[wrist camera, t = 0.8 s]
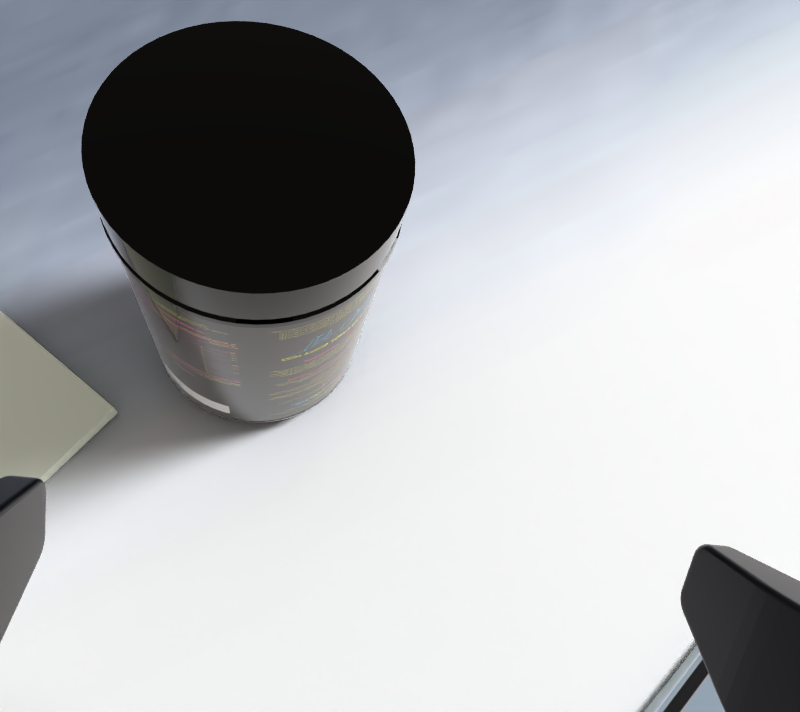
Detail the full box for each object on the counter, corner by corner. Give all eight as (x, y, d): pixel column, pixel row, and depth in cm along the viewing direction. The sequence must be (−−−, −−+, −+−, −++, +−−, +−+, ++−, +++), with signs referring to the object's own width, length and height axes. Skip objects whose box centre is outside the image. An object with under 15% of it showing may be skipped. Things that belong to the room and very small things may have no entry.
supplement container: (388, 306, 25) (466, 114, 15) (297, 466, 22) (321, 357, 12) (226, 219, 25) (202, -28, 15) (116, 369, 22) (2, 184, 12)
